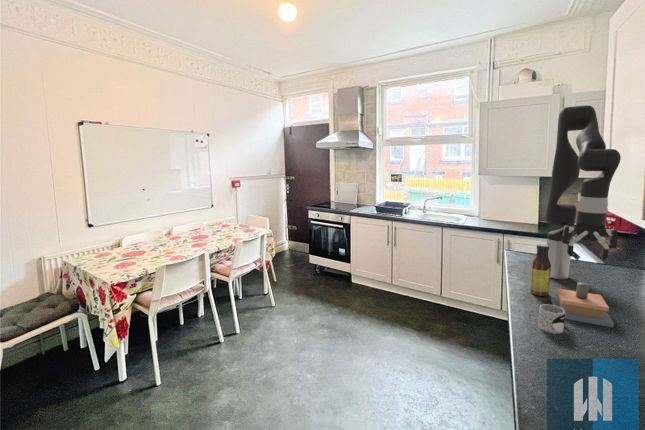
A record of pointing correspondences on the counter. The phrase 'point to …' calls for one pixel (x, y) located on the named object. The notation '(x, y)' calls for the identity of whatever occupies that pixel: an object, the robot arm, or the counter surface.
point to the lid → (582, 297)
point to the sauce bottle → (541, 272)
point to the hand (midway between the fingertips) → (586, 257)
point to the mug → (551, 319)
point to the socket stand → (584, 314)
